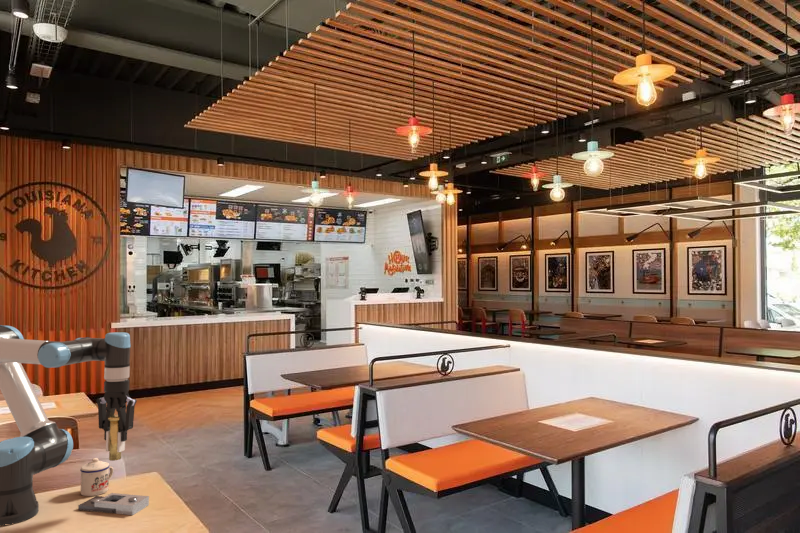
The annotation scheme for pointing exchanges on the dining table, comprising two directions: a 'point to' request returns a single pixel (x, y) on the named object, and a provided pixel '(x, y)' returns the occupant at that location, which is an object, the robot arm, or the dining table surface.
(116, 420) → the brass pin
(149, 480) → the dining table surface
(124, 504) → the block
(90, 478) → the teacup with lid
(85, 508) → the lower chain end
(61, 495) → the dining table surface
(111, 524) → the dining table surface
